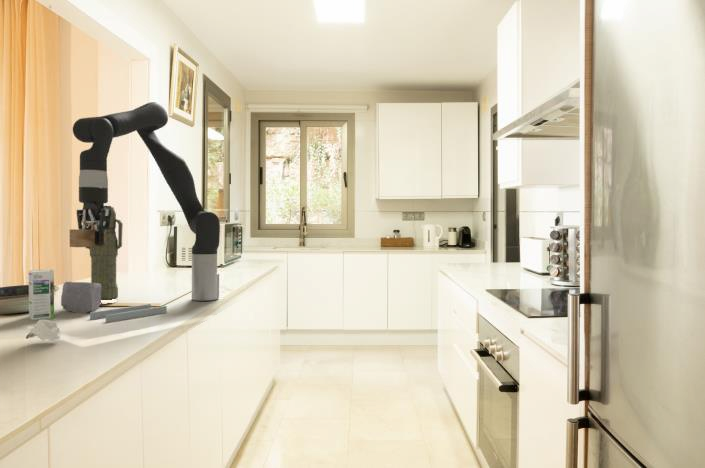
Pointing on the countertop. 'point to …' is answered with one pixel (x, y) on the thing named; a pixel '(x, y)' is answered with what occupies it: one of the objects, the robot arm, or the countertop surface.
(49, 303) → the syrup box
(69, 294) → the stone block
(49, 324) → the white rolled cloth
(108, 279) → the thermos
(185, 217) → the robot arm
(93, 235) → the walnut block
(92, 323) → the countertop surface
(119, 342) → the countertop surface
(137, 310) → the guide channel
